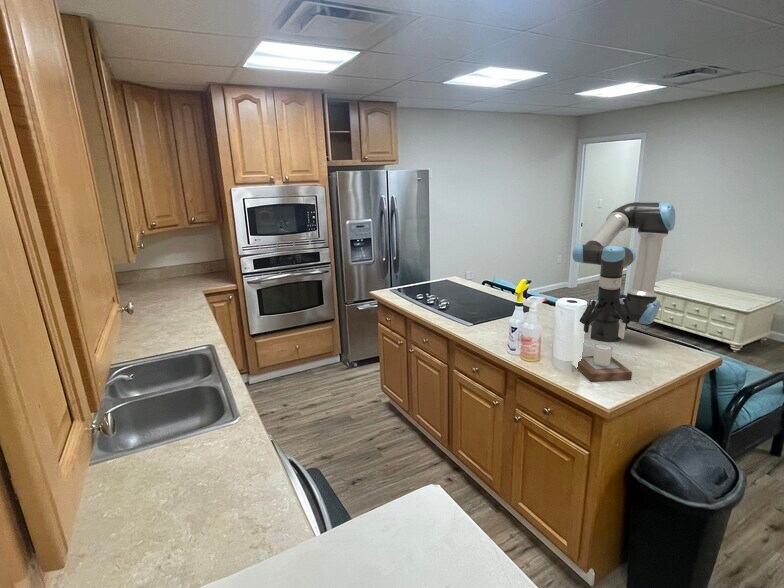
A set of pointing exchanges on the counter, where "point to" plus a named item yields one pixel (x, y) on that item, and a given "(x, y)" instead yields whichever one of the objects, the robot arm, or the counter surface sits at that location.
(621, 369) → the walnut base
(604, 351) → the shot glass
